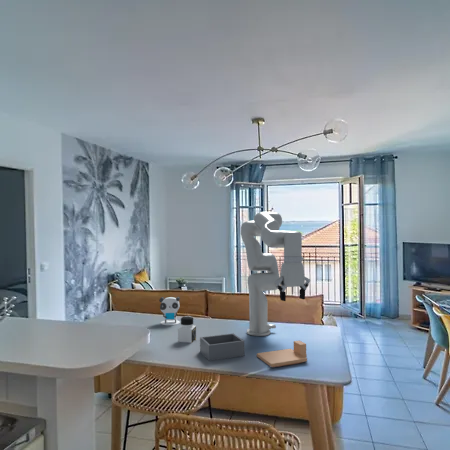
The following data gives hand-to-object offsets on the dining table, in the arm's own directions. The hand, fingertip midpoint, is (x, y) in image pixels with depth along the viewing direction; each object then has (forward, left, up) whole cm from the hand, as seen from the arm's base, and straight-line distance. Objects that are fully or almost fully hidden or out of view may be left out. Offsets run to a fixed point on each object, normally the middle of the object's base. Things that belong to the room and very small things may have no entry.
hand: (292, 299), depth 151 cm
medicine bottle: (+37, -37, -25) cm, 58 cm away
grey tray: (+28, -13, -24) cm, 39 cm away
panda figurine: (+37, -75, -25) cm, 87 cm away
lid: (+6, +2, -25) cm, 25 cm away
